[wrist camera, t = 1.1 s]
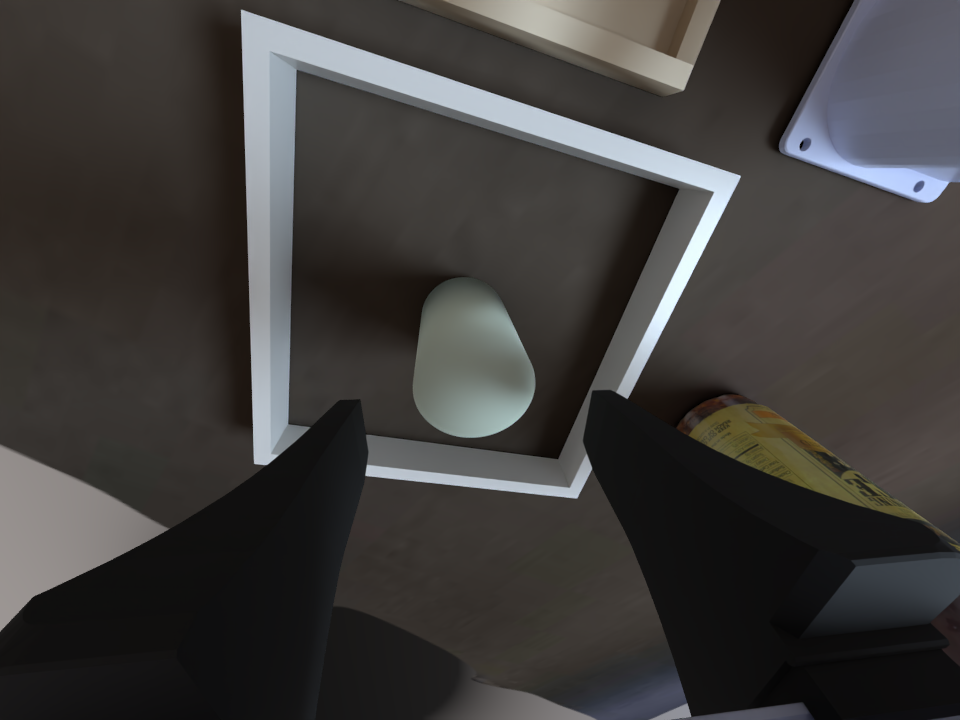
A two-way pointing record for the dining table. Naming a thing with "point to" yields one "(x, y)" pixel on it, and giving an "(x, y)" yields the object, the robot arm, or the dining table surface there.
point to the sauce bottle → (801, 469)
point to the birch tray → (598, 33)
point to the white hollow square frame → (272, 127)
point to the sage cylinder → (470, 361)
